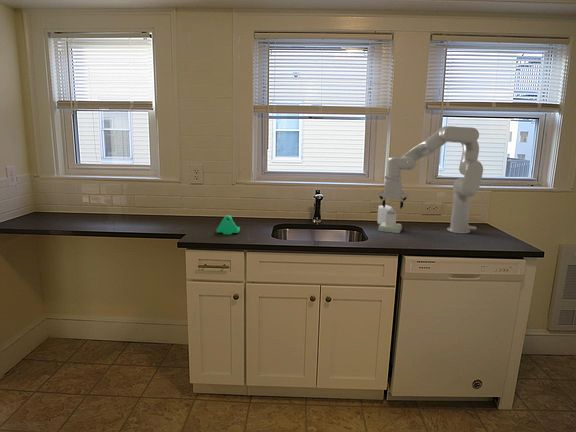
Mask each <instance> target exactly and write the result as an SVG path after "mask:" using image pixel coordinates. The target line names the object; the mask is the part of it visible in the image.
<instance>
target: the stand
mask: <svg viewBox="0 0 576 432" xmlns="http://www.w3.org/2000/svg"><path fill="white" fill-rule="evenodd" d="M385 225H386V223H384V222H382V223H381V224H379V225H378V232H386V233H394V234H400V233H401V231H402V229H403V225H402V223H396V224H395V226H394V227H391V226H385Z"/></svg>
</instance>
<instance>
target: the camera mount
mask: <svg viewBox="0 0 576 432" xmlns="http://www.w3.org/2000/svg"><path fill="white" fill-rule="evenodd" d="M240 230H241V227H240V226H237V225H236V223H235V222H234V220H233V217H232V215H229V214H227V215H225V216H224V217H223V219H222V220H221V222H220V223H219V225H218V226H217V228H216V233H222V235H233V234H234V233H235V234H238V233H239V232H240Z"/></svg>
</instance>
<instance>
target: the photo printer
mask: <svg viewBox="0 0 576 432" xmlns="http://www.w3.org/2000/svg"><path fill="white" fill-rule="evenodd" d="M388 210H390V211H395V210H394V208H393V207H392V206H391V205H388V204H385V207H384V208H383V206H382V204H381V205H378V208H377V224H378V225H381V223H382V222H384V223H386V213H387V212H388Z"/></svg>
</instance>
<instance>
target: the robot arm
mask: <svg viewBox="0 0 576 432" xmlns="http://www.w3.org/2000/svg"><path fill="white" fill-rule="evenodd" d="M479 137H480V133H479V130H478V129H477V128H475V127H472V126H471V127H467V126H466V127H465V126H453V125H451V126H450V125H449V126H448V125H446V126H442V127H440V128H439V129H437V130H436V131H435V132H434V133H433V134H431V135H430V136H429V137H427V138H426V139H425V140H423V141H422V142H420V143H418V145H416V146H414V147H413V148H411V149H410V150H408V151H407V152H406V153H404V154H403V155H401V157H399V156H398V157H397V156H391V157H388V158H387V174H386V176H384V180H385V179H386V181H385V183H384V190H382V191H380V192H378V193H377V194H378V197H379V198H380V200H381V201H382V203H381V205H382V206H383V208H384V207H385V205H386V199H397V200H398V199H399V200H400V201H399V202H400V205H399V206H400V207H399V209H400V210H401V209H402V208H403V207H404V202H405V201H406V200H407V198H408V197H409V193H407V192H405V191H403V182H402V180H401V179H402V178H401V177H402V175H401V174H402V170H403V171H412V170H414V169H415V168H416V167H417V161H418V160H420V159H422V158H424V157H427V156H429V155H432V154H434V153H435V152H436V151H438V150H439V149H440V148H441V147H442V146H444V145H445V144H446V143H448V142H449V143H458V144H459V143H460V144H461V147H462V153H461V154H462V155H461V159H460V163H459V167H458V171H459V173H460V174H461V175H462V176H464V177H459V178H457V179H456V180H455V181H454V183H453V185H452V208H451V216H450V225H449V227H447V229H446V230H447V231H448V232H451V233H455V234H470V233H471V230H473V231H477V226H474V225H473V226H472V225H469V220H470V208H471V197H473V196H475V195H476V194H477V193H478V192H479V190H480V186H481V183H482V178H483V173H484V166H483V165H482V163H481V162H480V161H479V159H478V158H479V155H480V154H479V153H480V146H479V145H480V144H479V142H478V139H479ZM403 195H404V198H403Z"/></svg>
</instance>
